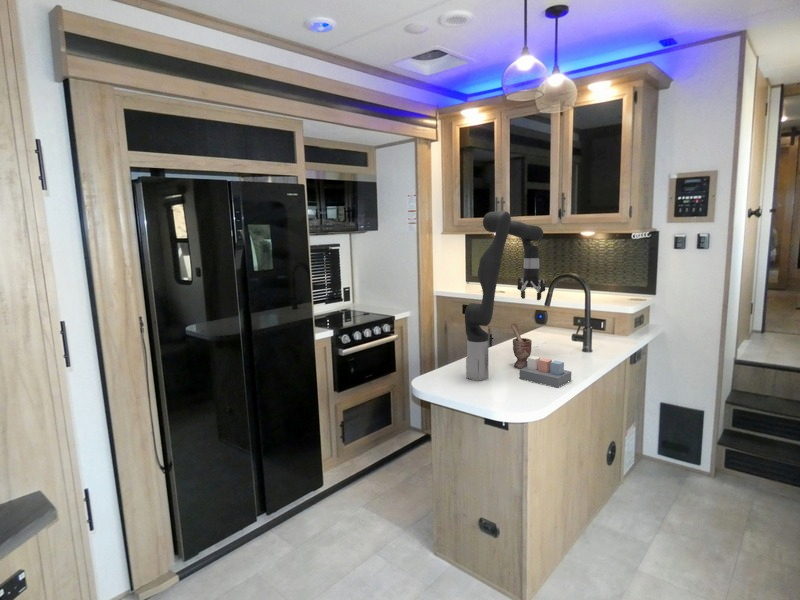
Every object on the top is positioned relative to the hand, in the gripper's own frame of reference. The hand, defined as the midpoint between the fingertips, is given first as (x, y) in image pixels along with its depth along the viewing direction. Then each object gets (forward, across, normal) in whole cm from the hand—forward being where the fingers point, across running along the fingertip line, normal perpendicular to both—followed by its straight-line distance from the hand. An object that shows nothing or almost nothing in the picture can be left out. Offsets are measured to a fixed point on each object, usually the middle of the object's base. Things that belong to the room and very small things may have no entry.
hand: (530, 299), depth 240 cm
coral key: (+25, +24, -29) cm, 45 cm away
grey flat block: (+29, +24, -29) cm, 48 cm away
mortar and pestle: (+30, +5, -19) cm, 35 cm away
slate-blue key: (+26, +30, -29) cm, 49 cm away
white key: (+26, +18, -29) cm, 43 cm away
